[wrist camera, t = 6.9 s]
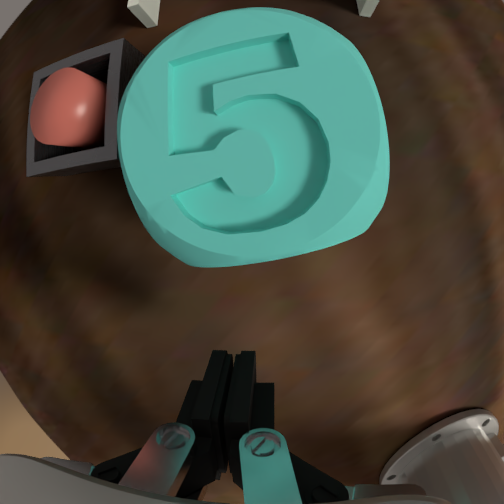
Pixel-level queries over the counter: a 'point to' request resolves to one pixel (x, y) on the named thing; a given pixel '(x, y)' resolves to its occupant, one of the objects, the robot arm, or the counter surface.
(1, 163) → the counter surface
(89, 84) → the button
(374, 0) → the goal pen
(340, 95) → the decorative dice
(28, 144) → the button collar
